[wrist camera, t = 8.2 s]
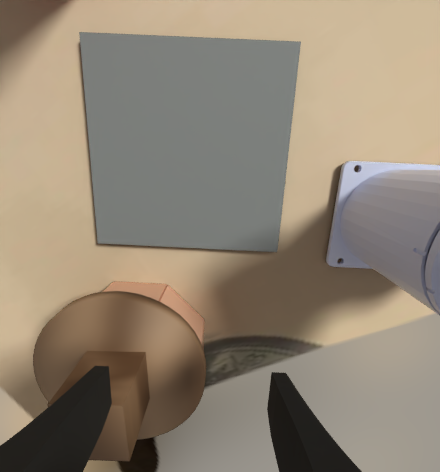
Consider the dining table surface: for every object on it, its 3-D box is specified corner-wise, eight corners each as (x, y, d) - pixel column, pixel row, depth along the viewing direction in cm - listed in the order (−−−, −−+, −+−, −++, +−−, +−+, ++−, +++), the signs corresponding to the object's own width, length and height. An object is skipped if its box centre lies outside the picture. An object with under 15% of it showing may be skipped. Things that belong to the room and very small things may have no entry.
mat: (298, 46, 17) (300, 41, 16) (275, 249, 20) (277, 252, 20) (84, 36, 17) (79, 32, 16) (101, 241, 20) (97, 243, 20)
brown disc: (205, 292, 17) (197, 342, 12) (206, 428, 20) (201, 510, 15) (28, 289, 17) (-48, 337, 12) (57, 425, 20) (6, 505, 16)
